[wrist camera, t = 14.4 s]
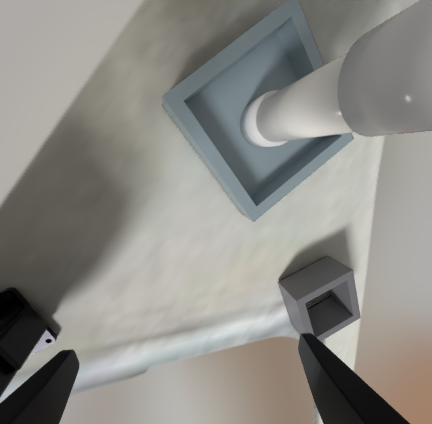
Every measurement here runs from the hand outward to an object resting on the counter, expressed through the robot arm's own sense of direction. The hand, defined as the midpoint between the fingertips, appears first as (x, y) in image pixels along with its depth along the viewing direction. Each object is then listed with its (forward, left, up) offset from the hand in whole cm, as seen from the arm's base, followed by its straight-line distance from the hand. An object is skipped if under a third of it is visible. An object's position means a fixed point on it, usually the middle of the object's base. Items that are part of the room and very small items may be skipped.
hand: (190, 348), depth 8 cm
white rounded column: (+11, +7, -11) cm, 17 cm away
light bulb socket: (+12, -14, -12) cm, 23 cm away
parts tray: (+11, +7, -12) cm, 18 cm away
